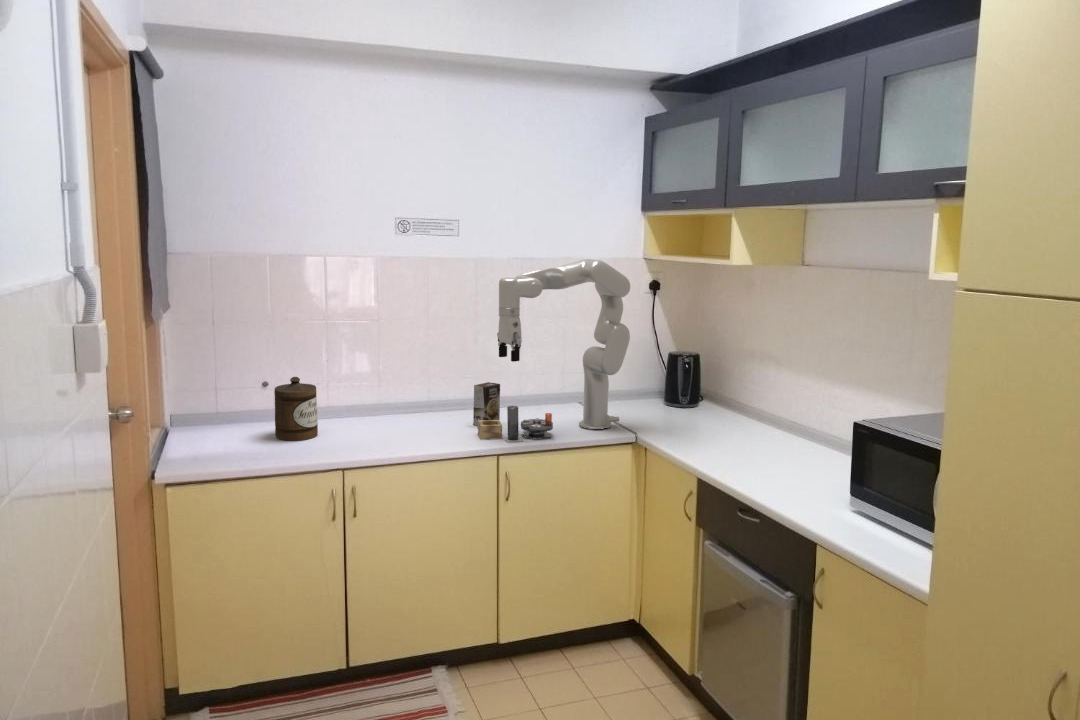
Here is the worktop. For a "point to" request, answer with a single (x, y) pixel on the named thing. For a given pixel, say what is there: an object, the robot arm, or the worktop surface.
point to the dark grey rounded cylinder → (512, 422)
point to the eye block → (489, 429)
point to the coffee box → (486, 402)
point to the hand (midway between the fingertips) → (509, 359)
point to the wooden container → (296, 411)
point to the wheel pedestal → (536, 434)
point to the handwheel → (538, 424)
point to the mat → (514, 440)
